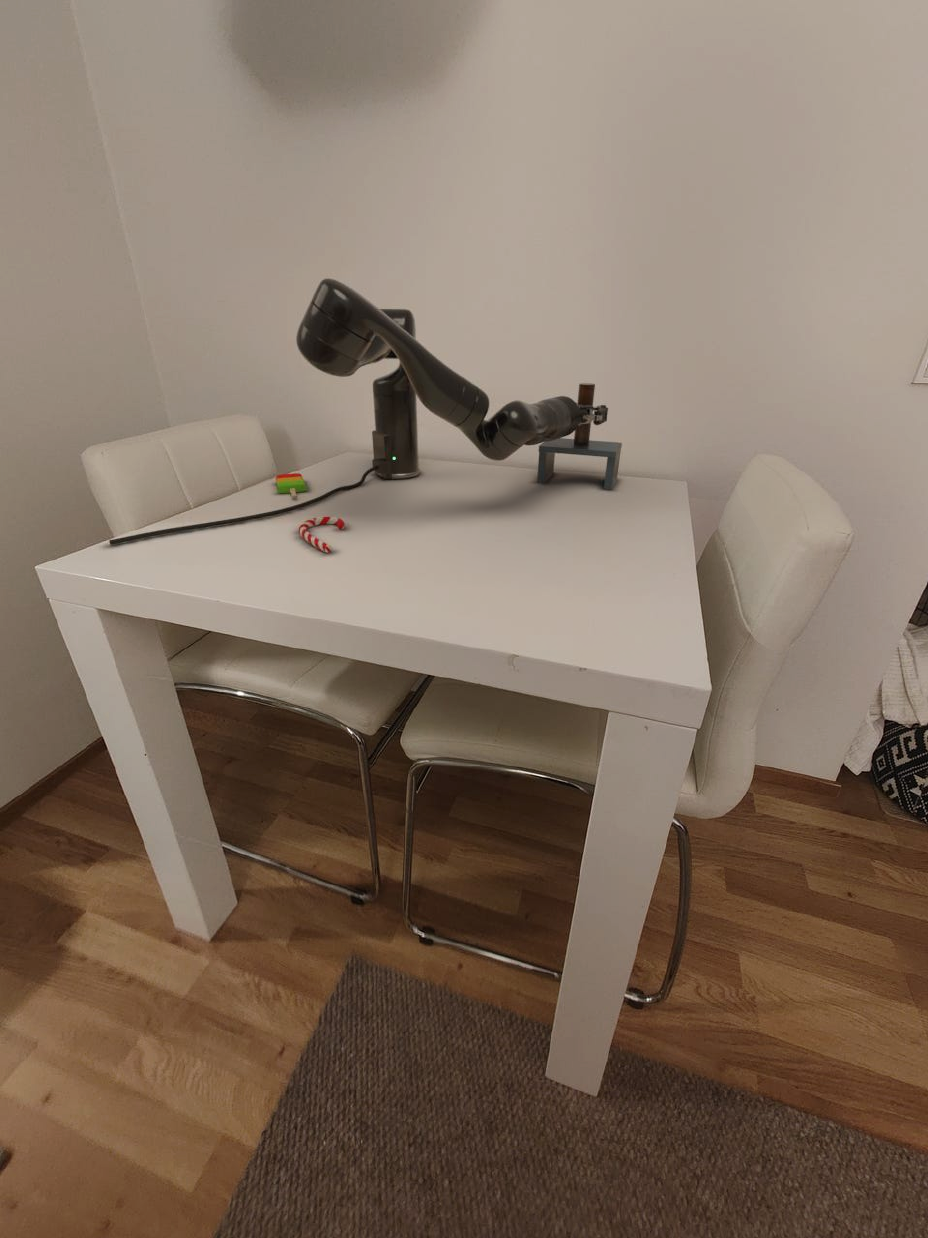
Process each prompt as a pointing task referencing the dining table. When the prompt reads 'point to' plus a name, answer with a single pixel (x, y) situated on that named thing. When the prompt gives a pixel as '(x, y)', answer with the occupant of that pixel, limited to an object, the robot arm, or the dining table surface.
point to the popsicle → (290, 483)
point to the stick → (585, 399)
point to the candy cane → (314, 522)
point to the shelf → (568, 447)
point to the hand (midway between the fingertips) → (589, 408)
